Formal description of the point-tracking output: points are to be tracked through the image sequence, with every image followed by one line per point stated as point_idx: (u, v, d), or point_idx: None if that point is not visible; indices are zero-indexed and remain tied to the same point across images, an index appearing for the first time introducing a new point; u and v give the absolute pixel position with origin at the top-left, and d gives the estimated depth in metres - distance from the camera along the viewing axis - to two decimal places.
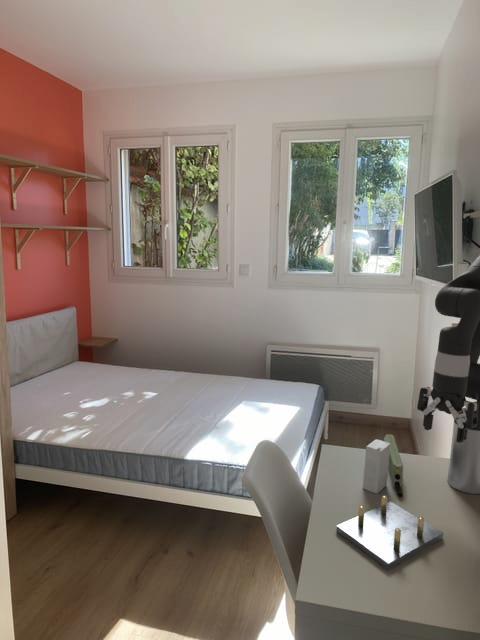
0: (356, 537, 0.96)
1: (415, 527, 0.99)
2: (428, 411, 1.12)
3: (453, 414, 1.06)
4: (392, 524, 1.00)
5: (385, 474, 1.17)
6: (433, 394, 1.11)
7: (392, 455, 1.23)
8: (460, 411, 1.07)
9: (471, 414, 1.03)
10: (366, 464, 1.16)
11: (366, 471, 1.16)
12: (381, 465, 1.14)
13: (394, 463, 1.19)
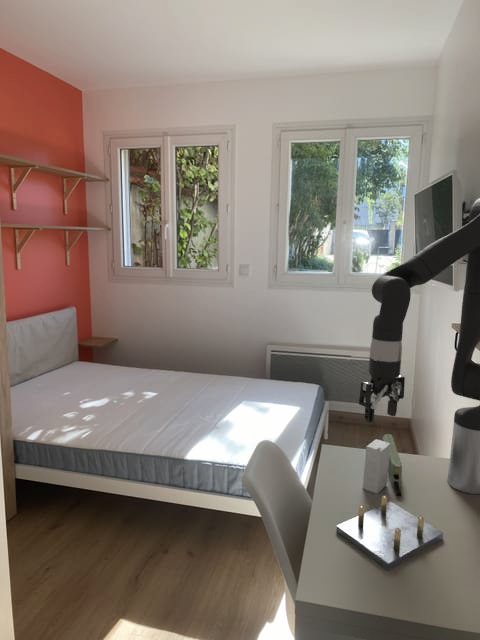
0: (356, 537, 0.96)
1: (415, 527, 0.99)
2: (375, 403, 1.11)
3: (395, 393, 1.14)
4: (392, 524, 1.00)
5: (385, 474, 1.17)
6: (378, 385, 1.11)
7: (391, 455, 1.23)
8: None
9: (403, 386, 1.16)
10: (366, 464, 1.16)
11: (366, 471, 1.16)
12: (381, 465, 1.14)
13: (393, 463, 1.19)
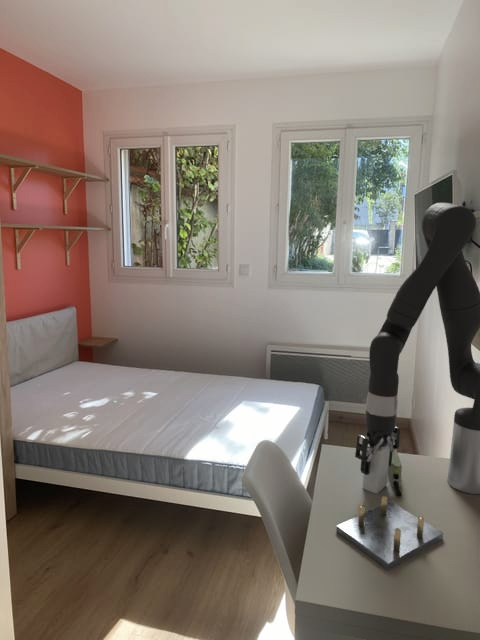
0: (356, 537, 0.96)
1: (415, 527, 0.99)
2: (371, 456, 1.13)
3: (390, 445, 1.16)
4: (392, 524, 1.00)
5: (385, 474, 1.17)
6: (374, 438, 1.13)
7: None
8: None
9: (398, 437, 1.18)
10: None
11: None
12: (381, 465, 1.14)
13: (393, 463, 1.19)
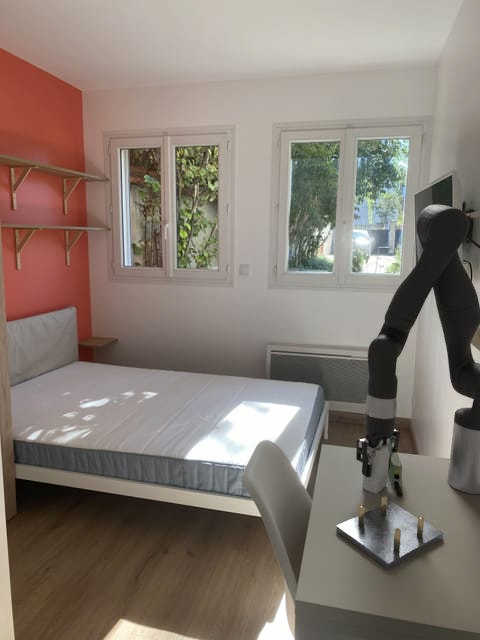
0: (356, 537, 0.96)
1: (415, 527, 0.99)
2: (372, 459, 1.14)
3: (389, 448, 1.16)
4: (392, 524, 1.00)
5: (385, 474, 1.17)
6: (373, 440, 1.13)
7: None
8: None
9: (398, 440, 1.19)
10: None
11: None
12: (381, 465, 1.14)
13: (393, 463, 1.19)
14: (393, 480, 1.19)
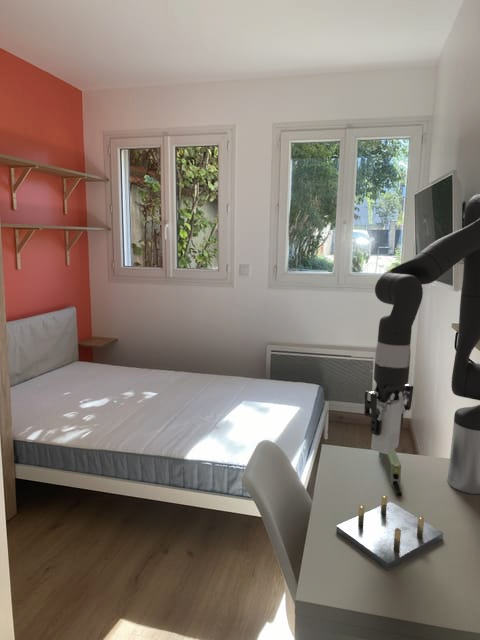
0: (356, 537, 0.96)
1: (415, 527, 0.99)
2: (382, 414, 1.01)
3: (402, 403, 1.04)
4: (392, 524, 1.00)
5: (396, 433, 1.04)
6: (384, 393, 1.01)
7: (389, 455, 1.23)
8: None
9: (411, 396, 1.06)
10: None
11: None
12: (392, 421, 1.02)
13: (392, 463, 1.19)
14: (392, 480, 1.19)
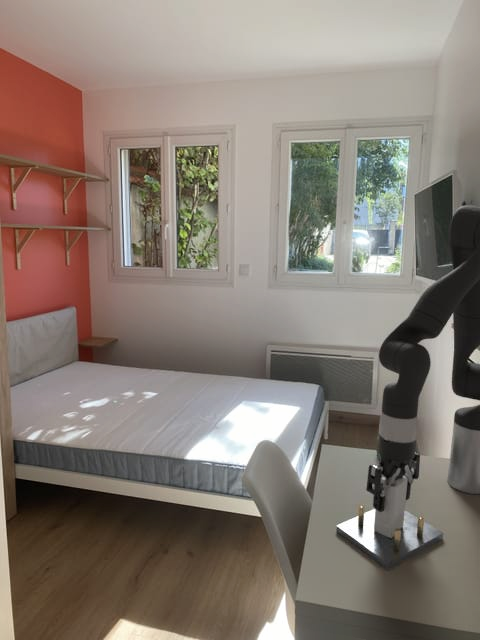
0: (356, 537, 0.96)
1: (415, 527, 0.99)
2: (386, 490, 0.94)
3: (409, 475, 0.97)
4: None
5: (401, 513, 0.97)
6: (389, 468, 0.93)
7: None
8: None
9: (418, 465, 0.99)
10: None
11: None
12: (397, 504, 0.95)
13: None
14: None
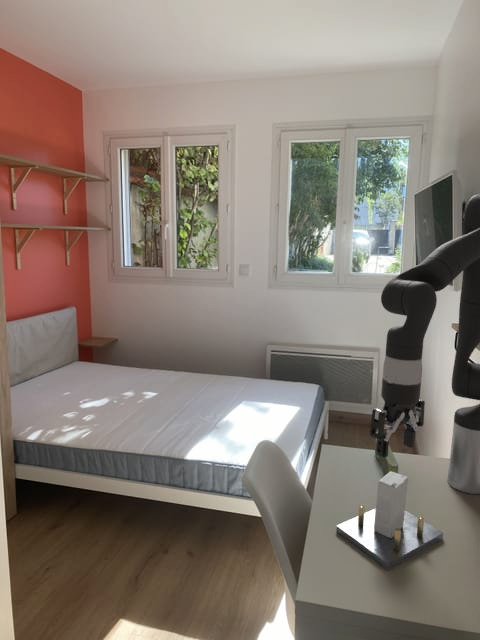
0: (356, 537, 0.96)
1: (415, 527, 0.99)
2: (389, 434, 0.92)
3: (413, 421, 0.95)
4: None
5: (401, 514, 0.97)
6: (393, 412, 0.91)
7: None
8: None
9: (423, 412, 0.97)
10: (378, 502, 0.96)
11: (378, 510, 0.97)
12: (397, 504, 0.95)
13: (389, 463, 1.19)
14: None
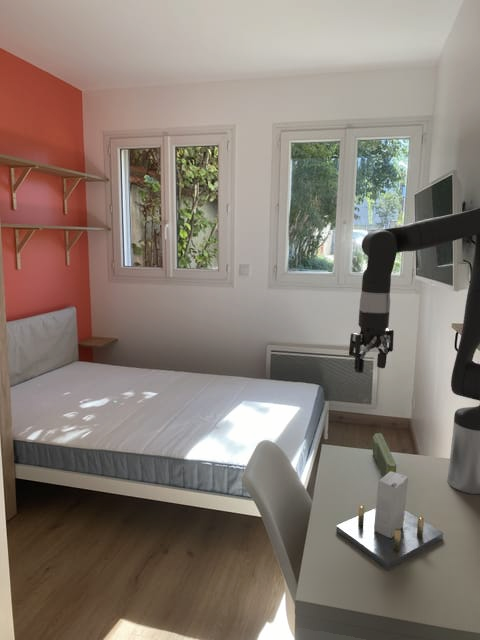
0: (356, 537, 0.96)
1: (415, 527, 0.99)
2: (364, 354, 1.15)
3: (384, 345, 1.18)
4: None
5: (401, 514, 0.97)
6: (367, 336, 1.15)
7: (384, 454, 1.23)
8: None
9: (392, 339, 1.20)
10: (378, 502, 0.96)
11: (378, 510, 0.97)
12: (397, 504, 0.95)
13: (387, 462, 1.19)
14: None
